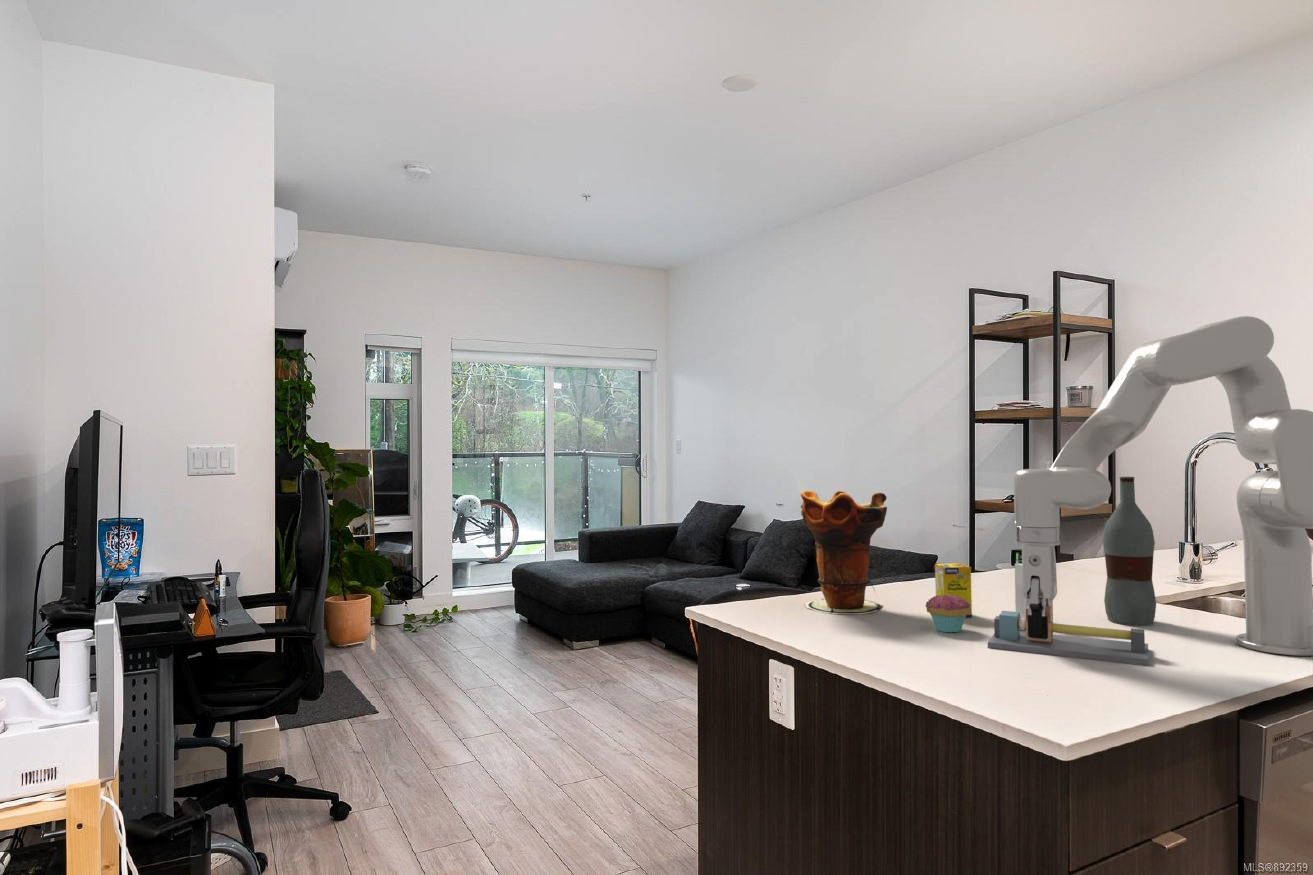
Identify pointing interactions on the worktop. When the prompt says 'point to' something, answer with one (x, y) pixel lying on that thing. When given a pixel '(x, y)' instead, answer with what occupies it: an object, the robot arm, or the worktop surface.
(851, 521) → the decorative vase
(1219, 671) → the worktop surface
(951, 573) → the supplement box
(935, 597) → the cupcake
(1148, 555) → the bottle
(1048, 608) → the sleeve
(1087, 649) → the cable board
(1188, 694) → the worktop surface
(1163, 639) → the worktop surface
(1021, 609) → the skincare box
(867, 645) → the worktop surface
